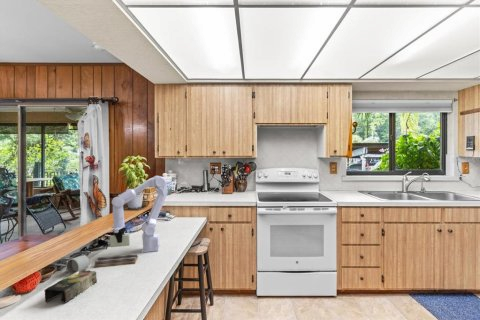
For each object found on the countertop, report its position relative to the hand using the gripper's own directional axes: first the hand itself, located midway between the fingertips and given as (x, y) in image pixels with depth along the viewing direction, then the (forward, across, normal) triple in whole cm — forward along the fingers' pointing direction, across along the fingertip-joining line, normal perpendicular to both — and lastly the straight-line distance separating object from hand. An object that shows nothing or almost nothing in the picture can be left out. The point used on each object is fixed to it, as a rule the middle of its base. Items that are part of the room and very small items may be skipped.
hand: (120, 241), depth 168 cm
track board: (+8, +11, 0) cm, 13 cm away
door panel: (+2, 0, 0) cm, 2 cm away
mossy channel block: (+8, +42, -10) cm, 44 cm away
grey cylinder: (+8, +19, -17) cm, 26 cm away
